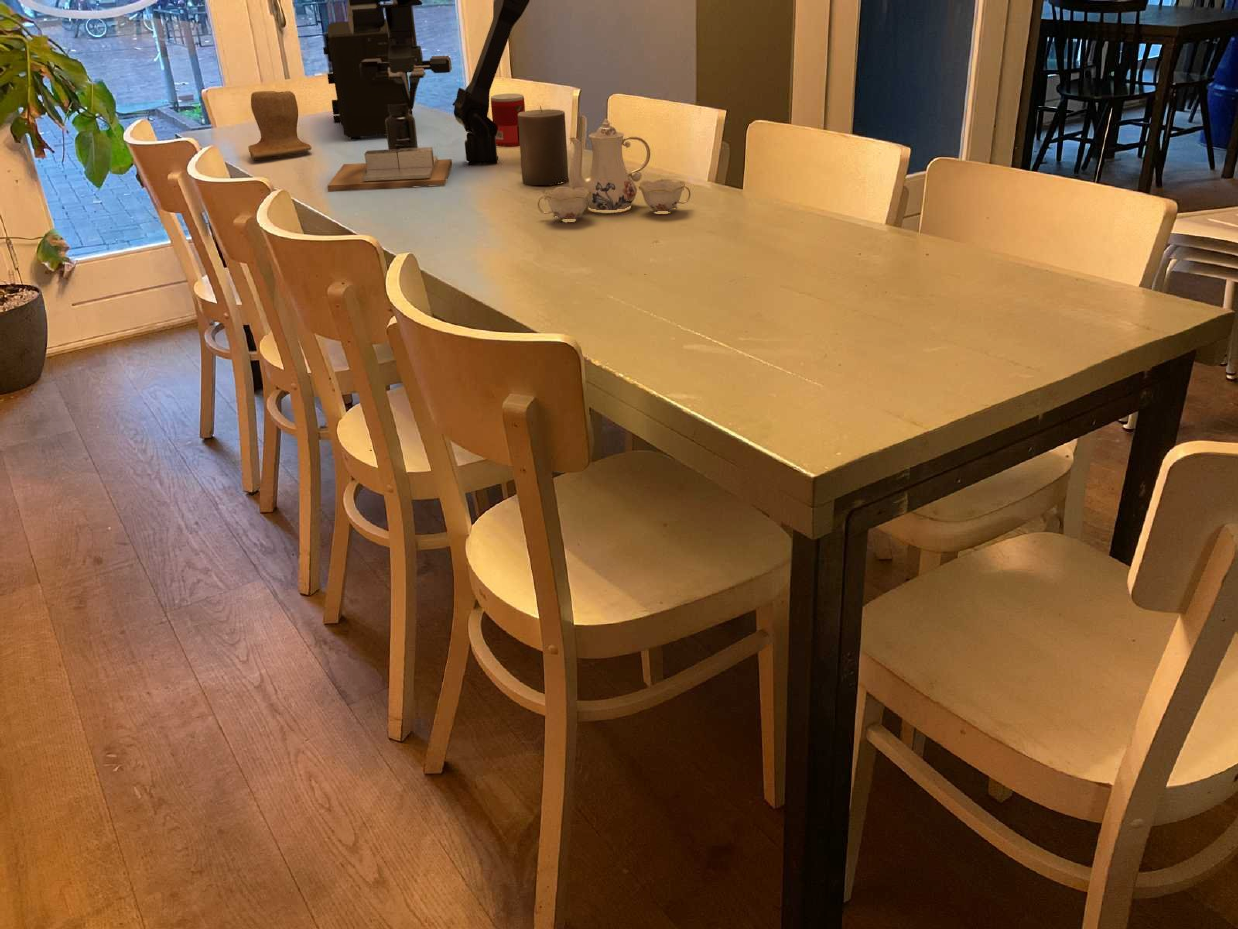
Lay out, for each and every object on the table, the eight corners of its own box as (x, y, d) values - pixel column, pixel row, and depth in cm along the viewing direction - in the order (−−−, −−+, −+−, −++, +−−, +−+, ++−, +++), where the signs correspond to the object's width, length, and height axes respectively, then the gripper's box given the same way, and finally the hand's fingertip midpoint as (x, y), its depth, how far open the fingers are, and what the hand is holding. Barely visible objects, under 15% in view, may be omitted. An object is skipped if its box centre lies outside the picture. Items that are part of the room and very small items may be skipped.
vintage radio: (334, 117, 287) (319, 21, 275) (404, 112, 291) (392, 17, 279) (337, 143, 255) (319, 35, 243) (415, 136, 259) (402, 30, 247)
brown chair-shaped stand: (300, 147, 252) (289, 83, 245) (317, 154, 243) (306, 88, 236) (239, 156, 245) (225, 90, 237) (254, 164, 236) (241, 96, 229)
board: (452, 164, 229) (451, 158, 228) (444, 185, 212) (443, 179, 211) (344, 169, 228) (343, 164, 227) (328, 191, 211) (327, 185, 210)
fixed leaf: (437, 160, 227) (435, 140, 225) (433, 171, 218) (430, 150, 216) (374, 163, 227) (371, 143, 225) (367, 174, 217) (364, 153, 215)
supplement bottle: (403, 161, 234) (396, 106, 228) (383, 157, 238) (375, 104, 232) (425, 155, 239) (418, 101, 233) (405, 152, 242) (398, 99, 237)
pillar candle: (562, 186, 207) (558, 109, 200) (516, 185, 209) (510, 109, 202) (573, 176, 216) (570, 102, 209) (529, 175, 217) (524, 101, 210)
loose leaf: (434, 166, 221) (432, 147, 219) (429, 177, 212) (427, 158, 210) (369, 169, 220) (367, 150, 219) (362, 181, 211) (359, 161, 209)
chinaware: (549, 240, 180) (544, 146, 171) (528, 208, 193) (523, 119, 184) (697, 223, 187) (701, 131, 177) (668, 193, 200) (670, 106, 191)
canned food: (525, 146, 244) (522, 98, 239) (492, 147, 244) (488, 99, 239) (528, 139, 251) (525, 92, 246) (496, 140, 251) (492, 93, 246)
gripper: (349, 36, 204) (361, 117, 212) (443, 32, 205) (451, 113, 212) (358, 30, 214) (369, 108, 221) (447, 26, 215) (455, 104, 222)
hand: (411, 108), depth 219 cm, fingers closed
